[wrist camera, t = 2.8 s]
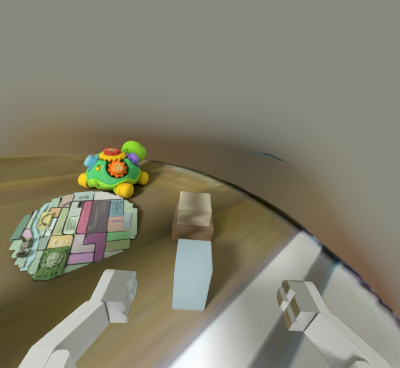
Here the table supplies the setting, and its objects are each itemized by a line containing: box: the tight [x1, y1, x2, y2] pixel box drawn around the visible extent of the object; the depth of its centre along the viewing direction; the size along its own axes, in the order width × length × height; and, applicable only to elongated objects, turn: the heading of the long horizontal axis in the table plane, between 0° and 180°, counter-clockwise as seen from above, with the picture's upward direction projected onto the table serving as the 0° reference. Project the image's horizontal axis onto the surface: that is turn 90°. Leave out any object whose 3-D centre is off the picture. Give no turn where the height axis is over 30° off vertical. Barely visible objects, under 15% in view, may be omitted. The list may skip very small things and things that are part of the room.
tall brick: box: [172, 239, 213, 311], centre depth 29 cm, size 5×5×10 cm
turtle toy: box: [78, 141, 149, 198], centre depth 58 cm, size 17×23×12 cm
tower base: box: [171, 191, 214, 243], centre depth 44 cm, size 9×9×8 cm
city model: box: [9, 191, 137, 280], centre depth 40 cm, size 25×23×6 cm
